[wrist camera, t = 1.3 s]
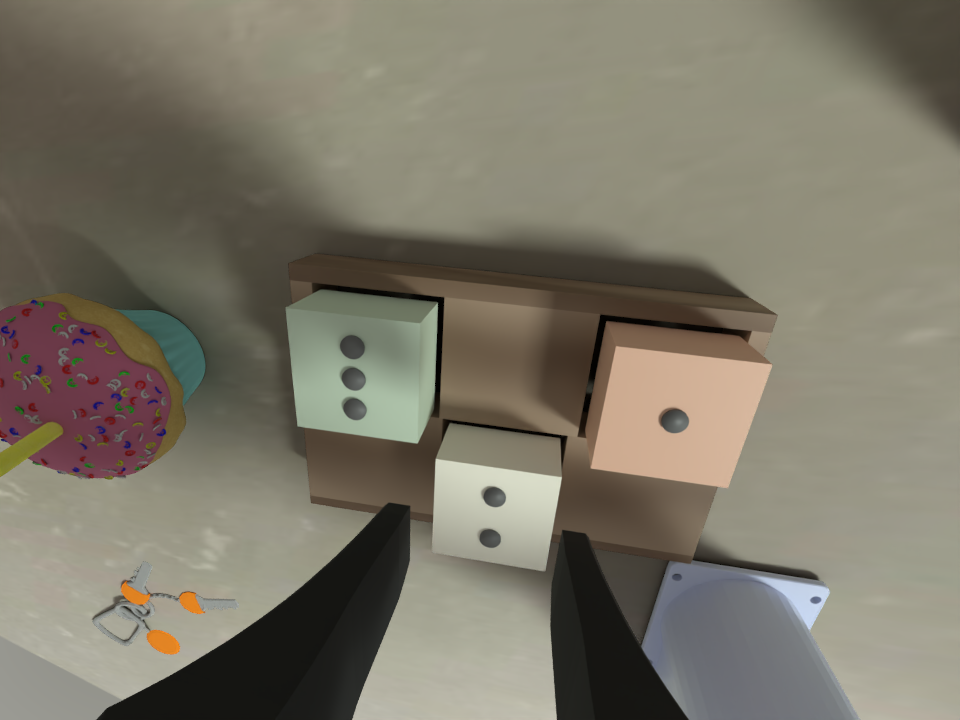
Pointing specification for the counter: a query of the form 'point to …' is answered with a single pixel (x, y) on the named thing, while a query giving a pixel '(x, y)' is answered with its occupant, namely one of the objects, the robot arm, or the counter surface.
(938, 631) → the counter surface
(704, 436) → the key one
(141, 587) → the key chain
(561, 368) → the board
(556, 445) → the key two
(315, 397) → the key three
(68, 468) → the cupcake
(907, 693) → the counter surface
